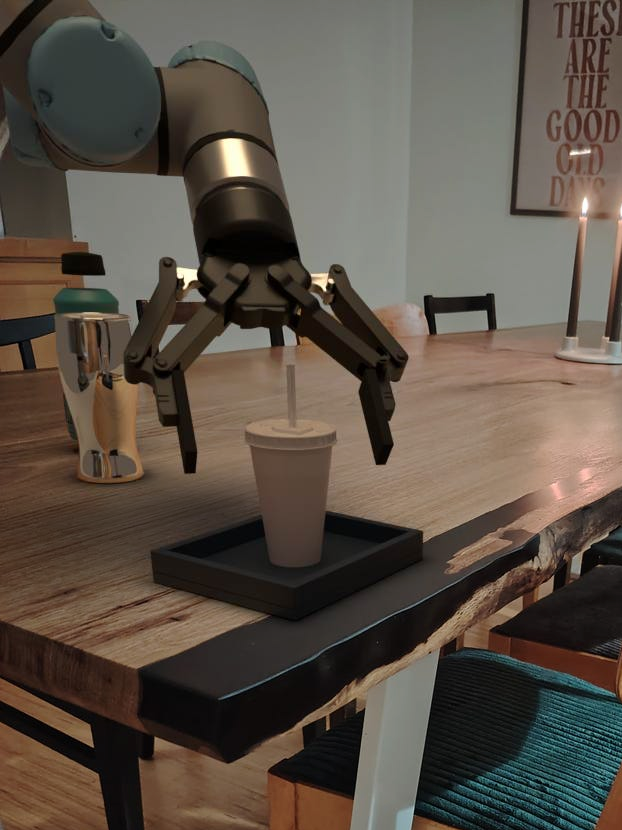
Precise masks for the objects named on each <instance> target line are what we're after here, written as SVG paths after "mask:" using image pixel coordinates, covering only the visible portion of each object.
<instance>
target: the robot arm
mask: <svg viewBox="0 0 622 830" xmlns="http://www.w3.org/2000/svg"><path fill="white" fill-rule="evenodd" d="M0 85H1V86H2V91H3V98H4V104H5V106H4V107H5V112H6V113H5V114H6V121H7V128H8V133H9V139H10V145H11V150H12V153H13V155H14V156H15V158H16V159H17V160H18V161H19V162H20V163H22V164H24V165H26V166H31V167H40V168H49V169H53V170H57V171H60V172H68V171H69V170H70V171H83V172H84V171H85V172H99V173H113V174H114V173H116V174H140V175H156V176H158V177H181V178H183V183H184V186H185V191H186V197H187V204H188V209H189V215H190V220H191V224H192V231H193V237H194V242H195V248H196V253H197V259H198V265H199V266H198V268H197V269H196V268H187V267H179V266H178V264H177V261H176V260H175V259H174V258H172V257H170V256H163V257H161V258H159V261H158V283H157V284H156V287H155V289H154V291H153V292H152V295H151V297H150V298H149V301H148V302H147V304H146V307H145V308H144V310H143V312H142V315H141V317H140V319H139V321H138V323H137V325H136V326H135V329H134V330H133V335H132V337H131V339H130V341H129V343H128V345H127V347H126V349H125V351H124V354H123V358H124V378H125V380H126V381H127V382H128V383H130V384H134V385H135V384H138V385H139V384H141V383H142V384H146V385H148V386H149V387H151V389H152V394H153V396H154V398H155V404H156V411H157V417H158V421H159V423H160V425H161V426H162V427H164V428H166V427H167V428H170V427H171V428H172V427H176V432H177V438H178V443H179V450H180V455H181V462H182V467H183V474H184V475H191V474H192V475H193V474H197V461H198V447H197V446H198V445H197V440H196V435H195V428H194V423H193V418H192V412H191V411H192V410H191V407H190V406H191V405H190V400H189V395H188V388H187V383H186V377H185V373H186V371H188V369H189V368H190V367H191V366H192V364H193V363H194V362H195V361H196V360H197V359H198V358H199V356H200V355H201V354H203V352H204V351H205V350H206V349H207V348H208V347H209V345H210V344H211V343H212V342H213V341H214V339H215V338H219V337H221V336H222V335H223V334H224V332H225V331H226V330H227V329H228V328H229V327H230V326H231V324H233V325H236V326H239V329H240V330H253V329H257V328H264V329H267V330H283V327H287V328H288V329H289V330H290V331H292V332H293V333H294V334H295V335H296V336H298V337H299V338H302V339H303V338H306V339H308V340H309V341H311V342H312V343H313V344H314V345H316V347H318V348H319V349H321V351H323V352H324V353H325V354H327V356H329V357H330V358H332V359H333V360H334V361H335V362H337V363H338V364H339V365H340V366H341V367H343V368H344V369H345V370H346V371H348V372H349V373H350V374H352V376H354V377H355V378H356V379H358V380H359V381H360V384H359V388H358V391H357V392H358V397H359V402H360V406H361V411H362V414H363V417H364V421H365V426H366V430H367V434H368V439H369V442H370V448H371V451H372V455H373V460H374V465H375V466H386V465H387V463H388V460H389V459H390V456H391V453H392V450H393V448H394V445H395V443H394V438H393V435H392V431H391V426H390V423H389V422H391V421H392V418H393V416H394V412H395V410H396V405H397V404H396V400H395V396H394V393H393V389H392V385H391V382H392V383H399V382H400V381H401V380H402V377H403V375H404V372H405V370H406V366H407V364H408V362H409V354H408V352H407V351H406V350H405V349H404V347H403V346H402V345H401V344H400V343H399V341H398V340H397V339H396V338H395V337H394V336H393V334H392V333H391V332H390V331H389V330H388V328H387V327H386V326H385V325H384V323H382V322H381V320H380V319H379V318H378V316H376V314H375V313H374V312H373V311H372V309H371V308H370V307H369V306H368V304H367V303H366V302H365V301H364V300H363V299H362V297H361V296H360V295H359V294H358V293H357V291H356V290H355V289H354V288H353V287H352V284H351V281H350V279H349V277H348V274H347V271H346V269H345V268H344V266H343V265H341V264H339V263H332V264H331V265H330V267H329V269H328V272H320V273H310V272H309V270H308V269H307V268H306V267H305V266H304V265H303V263H302V258H301V254H300V249H299V244H298V240H297V237H296V231H295V227H294V223H293V220H292V219H293V218H292V216H291V211H290V205H289V201H288V197H287V193H286V192H287V191H286V189H285V185H284V180H283V177H282V173H281V168H280V166H279V161H278V158H277V153H276V152H277V151H276V148H275V147H276V146H275V142H274V137H273V133H272V127H271V122H270V111H269V108H268V107H269V106H268V103H267V100H266V99H265V97H264V93H263V89H262V87H261V84H260V81H259V79H258V77H257V74H256V72H255V70H254V68H253V66H252V64H251V63H250V62H249V61H248V59H247V58H246V57H245V56H244V55H243V54H242V52H240V51H238V50H237V49H235V48H233V47H232V46H230V45H228V44H225V43H224V42H223V43H222V42H220V41H215V40H199V41H198V42H196V43H194V44H191V45H187V46H186V45H185V46H182V48H180V49H178V50H177V51H176V52H175V53H174V55H173V56H172V57H171V59H170V60H169V61H168V64H167V67H166V66H154V65H153V63H152V62H151V60H150V58H149V56H148V55H147V53H146V52H145V50H144V49H143V48H142V46H141V45H140V44H139V43H138V42H137V41H136V40H135V39H134V38H133V37H132V36H131V35H130V34H129V33H128V32H126V31H125V30H124V29H122V28H119V27H118V26H117V25H115V24H113V23H111V22H109V21H107V20H106V19H105V18H104V16H102V15H101V14H100V12H99V11H98V10H97V9H96V8H95V7H94V5H93V4H92V3H91V2H90V1H89V0H0ZM192 290H197V292H198V293H199V295H200V296H201V297H202V298H203V299H204V300H205V301H204V303H203V304H202V306H201V307H200V308H199V309H198V310H197V311H196V312H195V313H194V315H193V316H192V317H191V318H190V319H189V320H188V321H187V322H186V323H185V325H184V326H182V328H181V329H179V331H178V332H177V333H176V334H175V335H174V336H173V337H172V339H171V340H170V341H169V342H168V343H167V344H166V345H165V346H164V347H163V348H162V349H161V350H160V352H158V354H157V355H156V356H155V354H156V352H157V350H158V348H159V346H160V344H161V342H162V340H163V338H164V336H165V333H166V331H167V329H168V327H169V325H170V323H171V321H172V319H173V317H174V314H175V312H176V308H177V302H178V303H182V302H183V301H184V299H185V298H187V297H188V295H189V293H190V292H191V291H192ZM312 293H313V294H316V295H317V296H319V298H320V299H321V300H322V305H324V306H326V307H327V306H328V307H330V309H331V311H332V313H333V315H334V316H333V315H331V314H330V313H329V312H328V311H327V310H326V309H324V308H323V307H322V305H321V303H320V300H319V299H318V298H317V297H316V296H315V295H313V294H312ZM299 311H300V314H298V313H299ZM335 317H336V318H335Z"/></svg>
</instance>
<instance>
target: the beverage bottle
mask: <svg viewBox="0 0 622 830" xmlns="http://www.w3.org/2000/svg"><path fill="white" fill-rule="evenodd" d="M60 262H61V263H60V264H61V267H60V269H61V275H65V276H66V275H67V276H68V275H69V276H88V277H103V276H104V277H105V276H107V275H106V269H105V265H104V259H103V256H102V255H101V254H97V253H94V252H93V253H92V252H86V251H71V252H64V253H63V252H62V253H61V255H60ZM52 301H53V302H52V303H53V306H54V313H55V314H58V313H70V312H101V313H117V314H120V310H119V306H120V302H119V299H117V297H116V296H114V295H113V293H112V292H111V291H109V290H108V289H106V288H99V287H98V288H96V287H62V288H61V289H60V290H59V291H58V292H57V293H56V294H55V296H54V297H53V299H52ZM60 383H61V384H62V382H61V381H60ZM61 387H62V391H63V392H62V398H63V407H64V414H65V415H64V416H65V422H66V426H67V427H66V430H67V432H68V434H69V436H70V439H72V440H74V441H78V438H77V433H76V429H75V426H74V422H73V419H72V416H71V413H70V410H69V406H68V403H67V400H66V397H65V393H64V390H63V386H62V385H61Z"/></svg>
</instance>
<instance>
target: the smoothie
mask: <svg viewBox="0 0 622 830" xmlns="http://www.w3.org/2000/svg"><path fill="white" fill-rule="evenodd" d="M285 366H286V367H285V368H286V388H287V389H286V393H287V416H288V417H287V419H281V418H279V419H266V420H260V421H259V420H258V421H255V422H252V423H249V424H246V425H245V427H244V439H243V440H244V443H245V444H246V445H248V446H249V449H250V455H251V461H252V467H253V472H254V479H255V483H256V489H257V495H258V501H259V506H260V513H261V514H262V519H263V524H264V530H265V536H266V542H267V547H268V553H269V559H270V562H271V563H273V564H275V565H278V566H283V567H306V566H311V565H314V564H316V563H318V562H319V561H320V559H321V550H322V541H323V531H324V522H325V512H326V511H327V503H328V492H329V482H330V475H331V474H330V473H331V466H332V465H331V464H332V454H333V447H334V446H335V445H336V444H337V443H338V440H337V428H336V427H335V426H334V425H332V424H330V423H327V422H323V421H317V420H311V419H310V420H308V419H297V396H296V392H297V391H296V364H295V363H286V364H285Z"/></svg>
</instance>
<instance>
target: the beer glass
mask: <svg viewBox="0 0 622 830" xmlns="http://www.w3.org/2000/svg"><path fill="white" fill-rule="evenodd" d="M53 317H54V325H55V326H54V329H55V331H54V332H55V349H56V350H55V351H56V360H57V368H58V372H59V379H60V383H61V382H62V383H61V387H62V386H63V387H62V389H63V390H64V391H63V390H62V391H63V393H65V397H66V400H67V403H68V406H69V410H70V413H71V416H72V419H73V422H74V426H75V429H76V433H77V438H78V440H77V444H78V461H77V462H78V464H77V478H78V479H79V480H81V481H82V482H86V483H92V484H93V483H94V484H119V483H128V482H132V481H136V480H139V479H141V478H142V477H143V476H144V474H145V473H144V472H145V471H144V467H143V463H142V461H141V458H140V457H141V456H140V454H139V450H138V445H137V433H136V432H137V431H136V429H137V428H136V427H137V414H138V413H137V412H138V411H137V410H138V398H139V384H135V385H134V384H130V383H128V382H127V381H126V380H125V378H124V358H123V354H124V351H125V349H126V347H127V345H128V343H129V341H130V339H131V337H132V335H133V333H134V330H133V325H132V319H131V318H132V317H131V315H129V314H126V313H119V314H117V313H101V312H70V313H58V314H56V313H55V314H54V315H53Z"/></svg>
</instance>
